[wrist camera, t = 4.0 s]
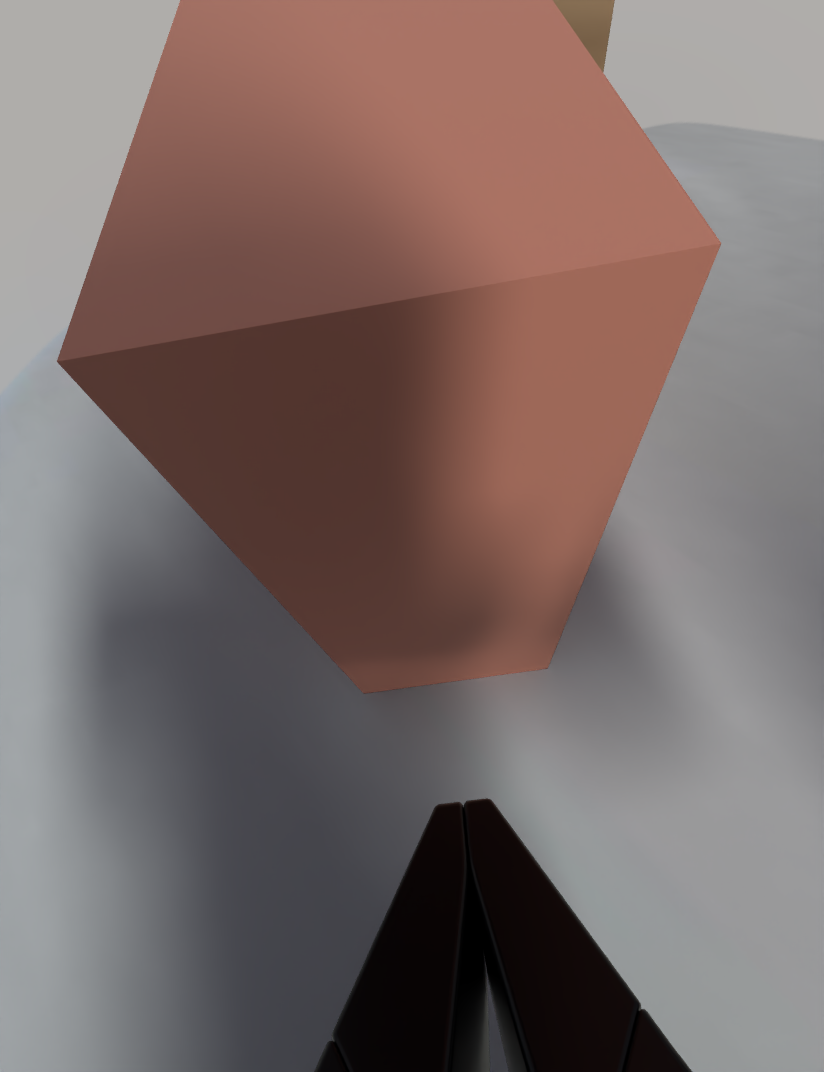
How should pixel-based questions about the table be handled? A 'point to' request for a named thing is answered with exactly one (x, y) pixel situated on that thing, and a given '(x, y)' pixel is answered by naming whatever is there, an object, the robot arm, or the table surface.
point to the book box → (392, 314)
